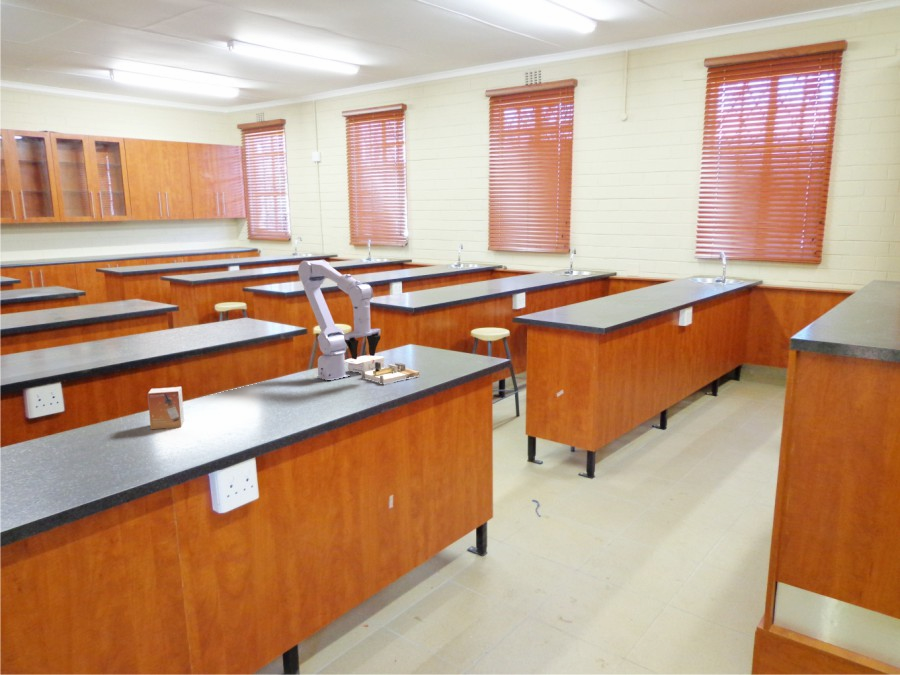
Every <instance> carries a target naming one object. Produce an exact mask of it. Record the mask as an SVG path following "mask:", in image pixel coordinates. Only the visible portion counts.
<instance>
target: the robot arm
mask: <svg viewBox="0 0 900 675" xmlns="http://www.w3.org/2000/svg"><path fill="white" fill-rule="evenodd" d="M297 274H298V276H299V278H300V281H301V283H302V286H303V290H304V292H305V295H306V297H307V299H308V302H309V305H310V308H312V312H313V313H314V317H315V319H316V322H317V324H318V326H319V329H320V333H319V334H318V336H317V341H318V348H319V350H320V351H321V352H322V355H320V356H319V357H318V358H317V376H316V377H317V378H318V377H320V378H319V379H321V378H323V379H322V380H324V379H325V381H327V380H331V381H335V380H334V379H336V380H339V378H341V379H344V378H343V377H345V378H349V377H348V376H350V377H351V375H350V374H347V373H346V362H345V360H346V359H345V353H346V352H347V349H348V351H349V352H350V356H351V358H352V359H357V357H358V346H359V340H357V338H364V337H366V338H367V344H368V352H369V354H368V355H371V356H376V350H377V346H378V344H379V342H380V340H381V335H382V334H381V333H382V331H381V328H371V305H370V304H371V302H370V301H371V300H372V298H373V296H374V290H373V287H372V286H371V285H370V283H362V282H361V281H360V280H357V279H355V278H354V277H352V274H350V273H348V274H347V273H345V274H342V273H341V272H339V271H338V270H337V269H335V268H334V267H333V266H331V265H330V262H329V261H326V260H325V259H319V260H302V261H301V262H300V263H299V265H298V270H297ZM326 278H327V279H329V281H332V282H334V283H336V285H337V288H338V289H340V290H341V291H342V292H344V293H345V294H347V295H348V296H349V298H350V300H351V305H352V307H353V309H352V310H353V331H350V332H345V333H344V331H343V329H342V328H340V327H338V326H336V323H335V321H334V319H333V317H332V314H331V312H330V309H329V307H328V304H327V302H326V300H325V297H324V295H323V293H322V289H321V285H323V284H324V281H325V280H326Z"/></svg>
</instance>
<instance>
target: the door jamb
mask: <svg viewBox="0 0 900 675" xmlns="http://www.w3.org/2000/svg"><path fill="white" fill-rule="evenodd" d="M394 365H396V366H398V372H399V373H403V374H406V375H407V378H409V377H414V376H418V375H419V376H420V371H418V370H414V369H410V368H407V367H406V364H405V363H401V362H394ZM385 368H388V366H387V367H385ZM392 368H394V367H392Z"/></svg>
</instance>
